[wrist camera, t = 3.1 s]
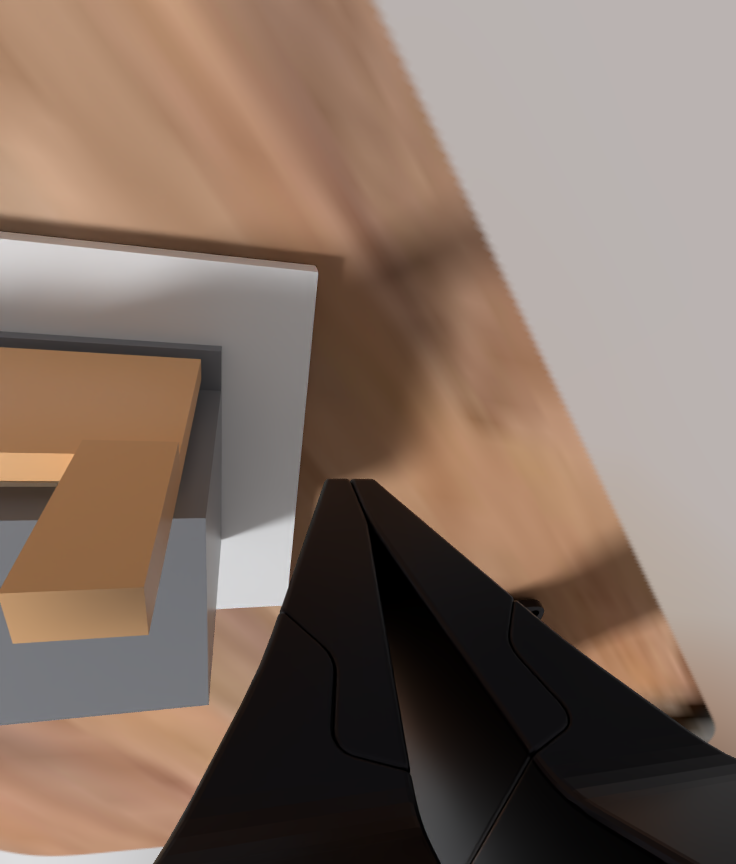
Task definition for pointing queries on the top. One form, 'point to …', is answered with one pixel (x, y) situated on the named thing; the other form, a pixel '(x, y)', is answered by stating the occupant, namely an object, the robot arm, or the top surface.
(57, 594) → the wooden block
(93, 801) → the top surface
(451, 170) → the top surface
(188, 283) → the grey and white panel
